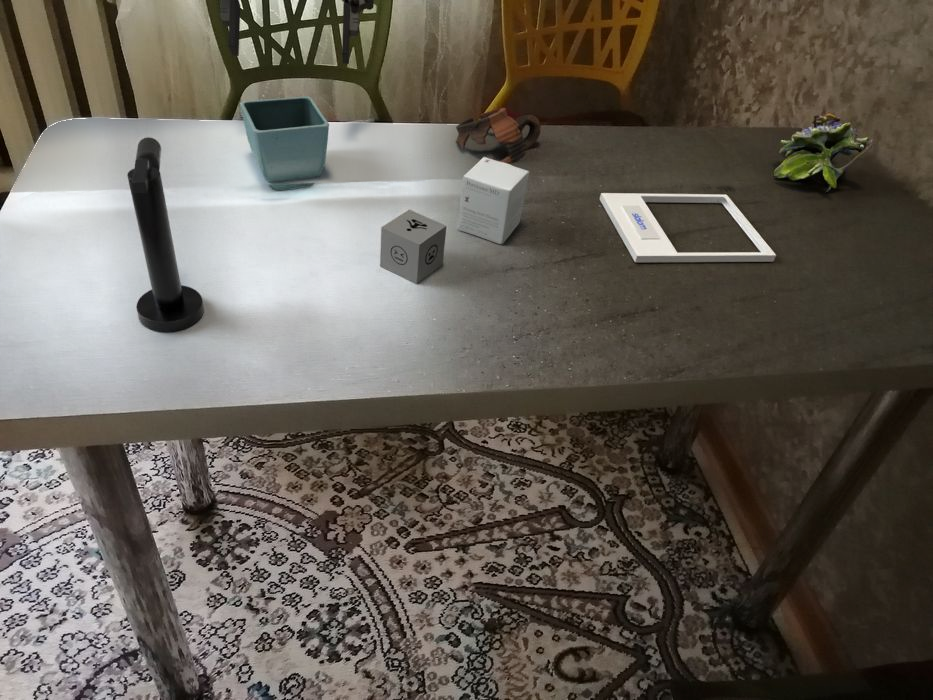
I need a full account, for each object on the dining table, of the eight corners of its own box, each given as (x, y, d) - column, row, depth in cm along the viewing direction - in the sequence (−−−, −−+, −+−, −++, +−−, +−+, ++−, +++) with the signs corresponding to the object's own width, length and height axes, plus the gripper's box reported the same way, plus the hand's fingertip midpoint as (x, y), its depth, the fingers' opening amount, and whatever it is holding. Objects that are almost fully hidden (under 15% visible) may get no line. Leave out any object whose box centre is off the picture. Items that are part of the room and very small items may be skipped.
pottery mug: (486, 187, 99) (465, 127, 96) (459, 185, 107) (439, 129, 104) (561, 154, 102) (543, 94, 99) (529, 153, 110) (512, 98, 107)
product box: (455, 230, 89) (461, 175, 85) (476, 208, 94) (483, 155, 89) (502, 246, 88) (511, 190, 83) (521, 223, 92) (530, 169, 87)
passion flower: (790, 200, 116) (848, 136, 113) (835, 225, 107) (899, 157, 104) (748, 159, 111) (807, 91, 107) (791, 183, 102) (857, 109, 98)
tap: (143, 271, 77) (110, 124, 67) (204, 268, 79) (181, 123, 68) (136, 338, 70) (97, 183, 59) (203, 332, 71) (178, 181, 61)
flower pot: (245, 167, 96) (238, 100, 90) (313, 160, 99) (310, 95, 93) (260, 201, 90) (254, 131, 84) (331, 193, 93) (330, 125, 87)
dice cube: (442, 263, 84) (446, 225, 81) (416, 283, 80) (419, 244, 77) (407, 247, 86) (409, 209, 82) (380, 266, 82) (381, 227, 79)
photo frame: (601, 191, 98) (727, 193, 101) (599, 199, 99) (724, 200, 102) (637, 254, 87) (776, 253, 90) (635, 262, 88) (773, 261, 91)
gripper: (393, -81, 99) (390, 74, 98) (199, -99, 96) (192, 61, 94) (395, -120, 92) (391, 48, 90) (184, -141, 88) (177, 32, 87)
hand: (290, 55), depth 92 cm, fingers open, 13 cm apart
